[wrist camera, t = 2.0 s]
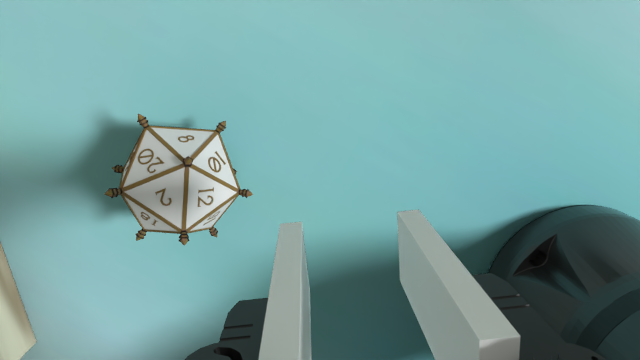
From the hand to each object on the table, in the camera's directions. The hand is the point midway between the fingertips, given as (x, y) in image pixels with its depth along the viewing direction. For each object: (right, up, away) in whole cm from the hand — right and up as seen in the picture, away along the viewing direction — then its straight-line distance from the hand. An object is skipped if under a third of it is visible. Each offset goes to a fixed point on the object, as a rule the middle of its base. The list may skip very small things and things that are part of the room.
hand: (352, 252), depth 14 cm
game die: (-11, +4, +16) cm, 20 cm away
